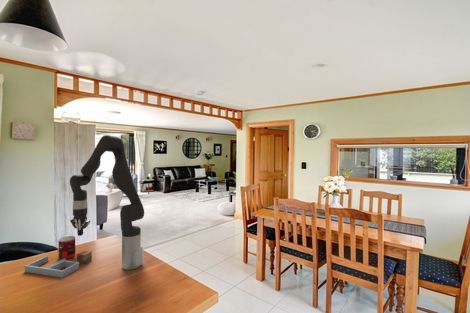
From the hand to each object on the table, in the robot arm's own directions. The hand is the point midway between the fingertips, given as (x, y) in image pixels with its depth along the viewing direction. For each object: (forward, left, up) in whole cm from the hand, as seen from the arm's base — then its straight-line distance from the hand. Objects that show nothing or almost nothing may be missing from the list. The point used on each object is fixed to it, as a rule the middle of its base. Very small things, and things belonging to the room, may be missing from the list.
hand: (80, 235), depth 147 cm
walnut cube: (-14, +11, -10) cm, 20 cm away
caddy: (-6, +21, -9) cm, 24 cm away
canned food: (0, +9, -10) cm, 13 cm away
